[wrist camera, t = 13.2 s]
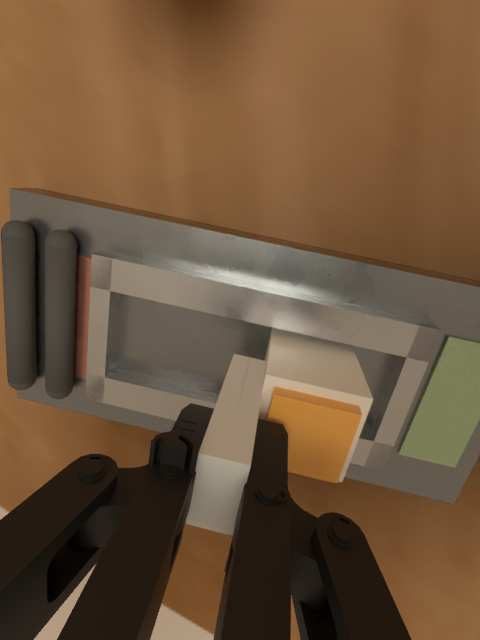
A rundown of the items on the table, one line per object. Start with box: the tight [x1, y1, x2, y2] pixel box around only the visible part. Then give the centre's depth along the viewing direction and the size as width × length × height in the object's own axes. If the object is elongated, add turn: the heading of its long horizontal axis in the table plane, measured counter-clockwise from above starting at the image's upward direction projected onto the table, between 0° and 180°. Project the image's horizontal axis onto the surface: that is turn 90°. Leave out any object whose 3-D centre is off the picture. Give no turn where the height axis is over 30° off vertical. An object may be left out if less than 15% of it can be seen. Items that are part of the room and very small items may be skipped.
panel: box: [10, 188, 480, 504], centre depth 19 cm, size 12×26×3 cm, turn 79°
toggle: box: [258, 327, 373, 484], centre depth 16 cm, size 4×4×6 cm
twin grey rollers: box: [1, 220, 77, 399], centre depth 19 cm, size 9×4×1 cm, turn 169°
